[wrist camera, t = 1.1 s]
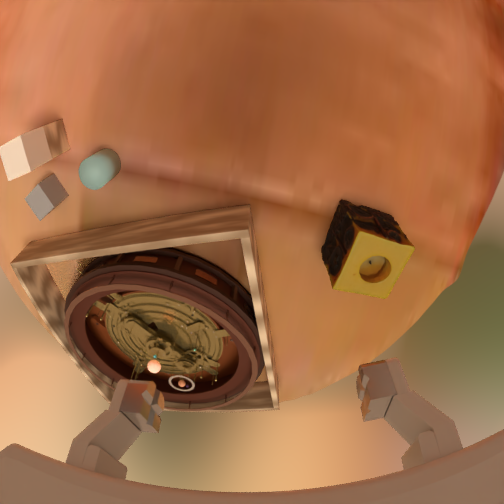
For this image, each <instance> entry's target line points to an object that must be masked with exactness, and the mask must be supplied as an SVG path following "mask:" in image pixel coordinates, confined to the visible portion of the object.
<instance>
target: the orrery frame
mask: <svg viewBox="0 0 504 504" xmlns="http://www.w3.org/2000/svg"><path fill="white" fill-rule="evenodd" d="M240 238H241V243H242V249H243V254H244V259H245V264H246V269H247V275H248V280H249V285H250V290H251V295H252V301H253V306H254V311H255V316H256V321H257V326H258V331H259V336H260V341H261V346H262V351H263V356H264V361H265V366H266V371H267V376H268V381H266V382H255V383H254V385H253V386H252V388H251V389H250V390H249V392H248V393H247V394H245V395H244V396H243V397H241V398H240V399H239V400H237V401H235V402H233V403H231V404H229V405H226V406H223V407H219V408H216V409H211V410H203V411H185V412H247V411H267V410H279V389H278V378H277V372H276V365H275V359H274V352H273V346H272V339H271V333H270V327H269V320H268V314H267V308H266V301H265V295H264V289H263V283H262V276H261V270H260V264H259V258H258V251H257V245H256V239H255V233H254V227H253V220H252V214H251V208H250V205H242V206H235V207H227V208H220V209H212V210H205V211H198V212H192V213H185V214H178V215H172V216H165V217H159V218H153V219H147V220H141V221H135V222H129V223H124V224H118V225H113V226H107V227H102V228H96V229H91V230H86V231H81V232H76V233H71V234H66V235H61V236H56V237H51V238H47V239H42V240H37V241H33V242H30V243H29V244H28V245H27V246H26V247H25V248H24V249H23V250H22V251H21V252H20V253H19V255H18V256H17V257H16V258H15V259H14V260H13V261H12V262H11V263H10V264H11V266H12V268H13V270H14V272H15V274H16V276H17V277H18V279H19V281H20V283H21V285H22V286H23V288H24V290H25V291H26V293H27V295H28V297H29V298H30V300H31V301H32V303H33V305H34V306H35V308H36V310H37V311H38V313H39V314H40V316H41V317H42V319H43V320H44V322H45V323H46V325H47V326H48V328H49V329H50V331H51V332H52V334H53V335H54V336H55V338H56V339H57V341H58V342H59V343H60V345H61V346H62V347H63V349H64V350H65V351H66V353H67V354H68V355H69V357H70V358H71V359H72V361H73V362H74V363H75V364H76V366H77V367H78V368H79V369H80V371H81V372H82V373H83V374H84V376H86V378H87V379H88V380H89V381H90V383H91V384H92V385H93V386H94V387H95V388H96V390H97V391H98V392H99V393H100V394H101V395H102V396H103V397H104V399H105V400H106V401H107V402H108V403H109V404H110V403H111V401H112V398H113V395H114V392H115V390H113V389H111V388H110V387H108V386H107V385H105V384H104V383H102V382H101V381H100V380H98V379H97V378H96V377H95V376H94V375H92V374H91V373H90V372H89V371H88V370H87V369H86V368H85V367H84V366H83V365H82V363H81V362H80V361H79V360H78V359H77V357H76V356H75V354H74V352H73V351H72V349H71V348H70V345H69V343H68V340H67V338H66V335H65V327H64V320H65V313H64V309H65V303H66V302H65V300H64V298H63V296H62V295H61V293H60V291H59V289H58V287H57V286H56V284H55V282H54V280H53V278H52V276H51V274H50V273H49V271H48V269H47V267H46V265H45V264H48V263H55V262H62V261H69V260H76V259H83V258H90V257H98V256H105V255H113V254H120V253H128V252H135V251H143V250H151V249H159V248H166V247H174V246H182V245H190V244H199V243H207V242H215V241H223V240H232V239H240ZM70 338H71V336H70ZM71 340H72V338H71ZM72 343H73V346H74V348H75V350H76V351H77V353H78V354H79V356H80V358H81V359H82V357H83V355H82V353H81V352H80V351H79V350H78V348H77V347H76V345H75V343H74V342H73V340H72ZM83 361H84V363H85V364H86V365H87V366H88V367H89V368H90V369H91V370H92V371H93V372H94V373H95V374H96V375H97V376H99V377H100V378H101V379H102V380H104V381H105V382H107V383H108V384H109V385H111V384H112V380H111V379H109V378H108V377H107V376H105V375H104V374H103V373H101V372H100V371H98V370H97V369H96V368H95V367H94V366H93V365H92V364H91V363H90V362H89V361H88V360H87V359H86V358H85V357H84V358H83ZM116 386H117V383H116V382H113V384H112V387H114V388H116ZM239 394H240V393H239ZM239 394H237V395H239ZM237 395H235V396H233V397H230V398H227V400H226V402H227V401H229V400H231V399H233V398H235V397H236V396H237ZM222 403H225V399H224V400H220V401H216V402H209V403H199V404H191V405H190V408H189V404H185V403H174V402H168V401H164V406H165V407H172V408H182V409H197V408H205V407H212V406H215V405H219V404H222ZM164 410H165V411H178V410H169V409H164Z"/></svg>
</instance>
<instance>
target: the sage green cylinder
mask: <svg viewBox="0 0 504 504" xmlns="http://www.w3.org/2000/svg"><path fill="white" fill-rule="evenodd" d="M120 167H121V162H120V158H119V156H118V155H117V153H116V152H114V151H113V150H111V149H102V150H100V151H98V152H97V153H95V154H93V155H92V156H90V157H88V158H86V159H85V160H84V161H83V162H82V163H81V164H80V167H79V177H80V180H81V182H82V183H83V184H84V185H85V186H86V187H87V188H89V189H92V190H97V189H100V188H101V187H103V186H104V185H105V184H106V183H107V182H109V181H110V180H111V179H112V178H114V177H115V176H116V175H117V174H118V173H119V171H120Z"/></svg>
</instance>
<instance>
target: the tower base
mask: <svg viewBox="0 0 504 504" xmlns="http://www.w3.org/2000/svg"><path fill="white" fill-rule="evenodd" d="M43 128H44V132H45V135H46V139H47V143H48V146H49V150H50V153H51V157H52V159H53V158H55V157H57V156H59V155H61V154H63V153H64V152H66V151H68V150H70V145H69V142H68V138H67V134H66V131H65V127H64V123H63V119H61V120H58V121H55V122H52V123H50V124H47V125H44V126H43Z"/></svg>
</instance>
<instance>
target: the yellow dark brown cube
mask: <svg viewBox="0 0 504 504" xmlns="http://www.w3.org/2000/svg"><path fill="white" fill-rule="evenodd" d="M414 250H415V247H414V246H413V245H412V243H411V242H410V241H409V240H408V238H407V237H406V235H405V234H404V233H403V232H402V230H401V228H400V227H399V224H398V223H397V222H396V221H394V218H393V217H392V216H391V215H389V214H385V213H382V212H380V211H377V210H375V209H371V208H369V207H364V206H363V205H362V206H359V207H358V206H355V205H353V204H351V203H350V202H348V201H345V200H341V201H340V205H339V206H338V208H337V211H336V213H335V215H334V219H333V221H332V223H331V226H330V229H329V231H328V234H327V238H326V241H325V244H324V245H323V247H322V252H321V253H322V259H323V261H324V264H325V266H326V268H327V271H328V274H329V276H330V280H331V285H332V288H333V289H335V290H340V291H345V292H351V293H358V294H363V295H368V296H372V297H378V298H383V299H385V298H387V297H388V296H389V294H390V292H391V290H392V288H393V286H394V284H395V283H396V281H397V279H398V277H399V276H400V274H401V272H402V270H403V269H404V267H405V265H406V263H407V262H408V260H409V258H410V257H411V255H412V253H413V251H414Z"/></svg>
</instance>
